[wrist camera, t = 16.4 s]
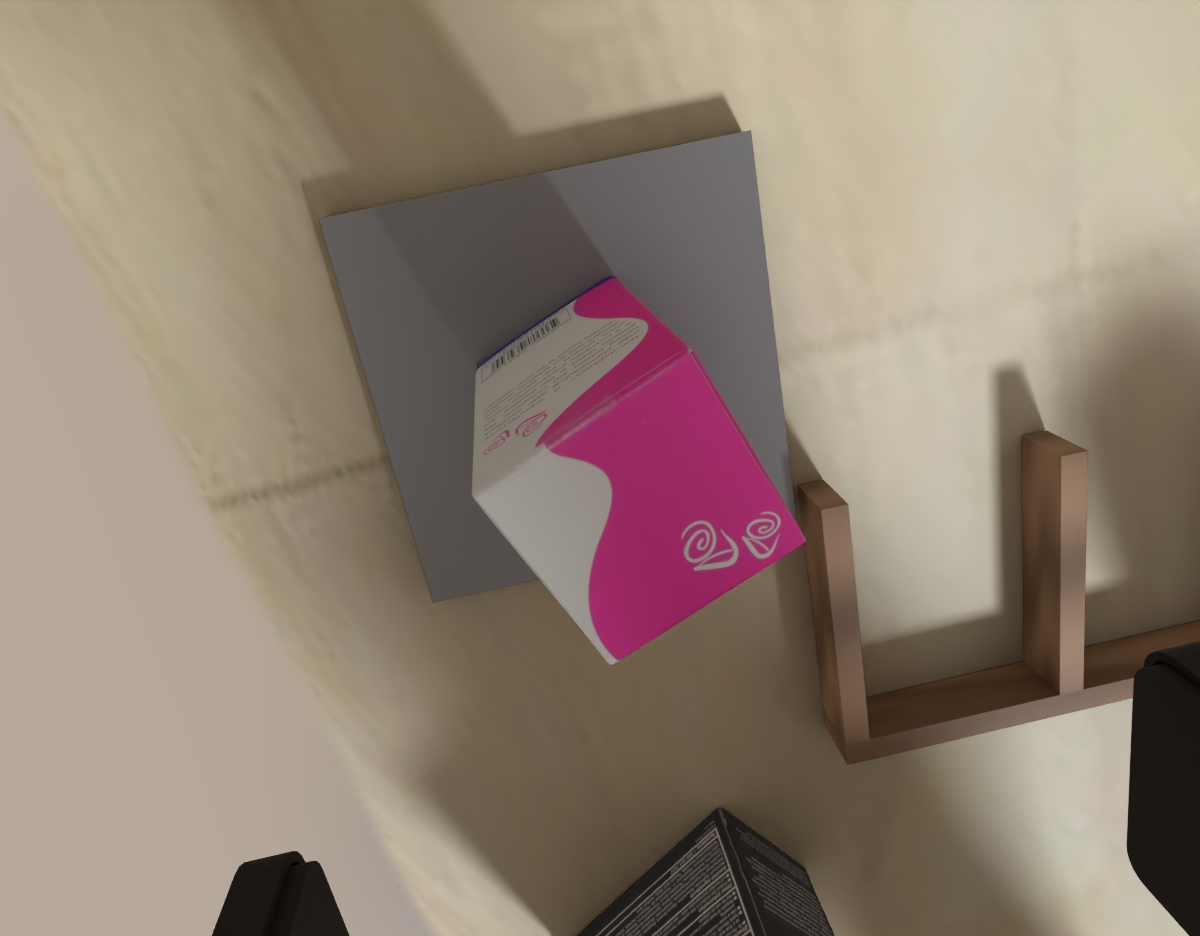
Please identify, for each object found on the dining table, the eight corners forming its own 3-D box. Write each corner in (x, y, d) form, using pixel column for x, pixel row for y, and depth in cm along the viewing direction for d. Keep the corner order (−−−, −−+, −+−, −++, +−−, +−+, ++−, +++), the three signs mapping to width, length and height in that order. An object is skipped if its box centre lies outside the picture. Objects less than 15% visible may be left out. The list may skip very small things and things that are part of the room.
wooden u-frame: (1241, 629, 37) (1290, 660, 35) (825, 726, 37) (847, 764, 34) (1264, 381, 33) (1322, 398, 31) (798, 485, 33) (820, 510, 30)
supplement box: (568, 497, 31) (604, 677, 20) (471, 365, 29) (453, 486, 18) (703, 409, 30) (815, 546, 19) (614, 268, 28) (684, 333, 17)
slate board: (788, 511, 33) (796, 521, 32) (434, 590, 32) (433, 602, 31) (742, 131, 28) (750, 130, 27) (324, 216, 27) (318, 218, 27)
